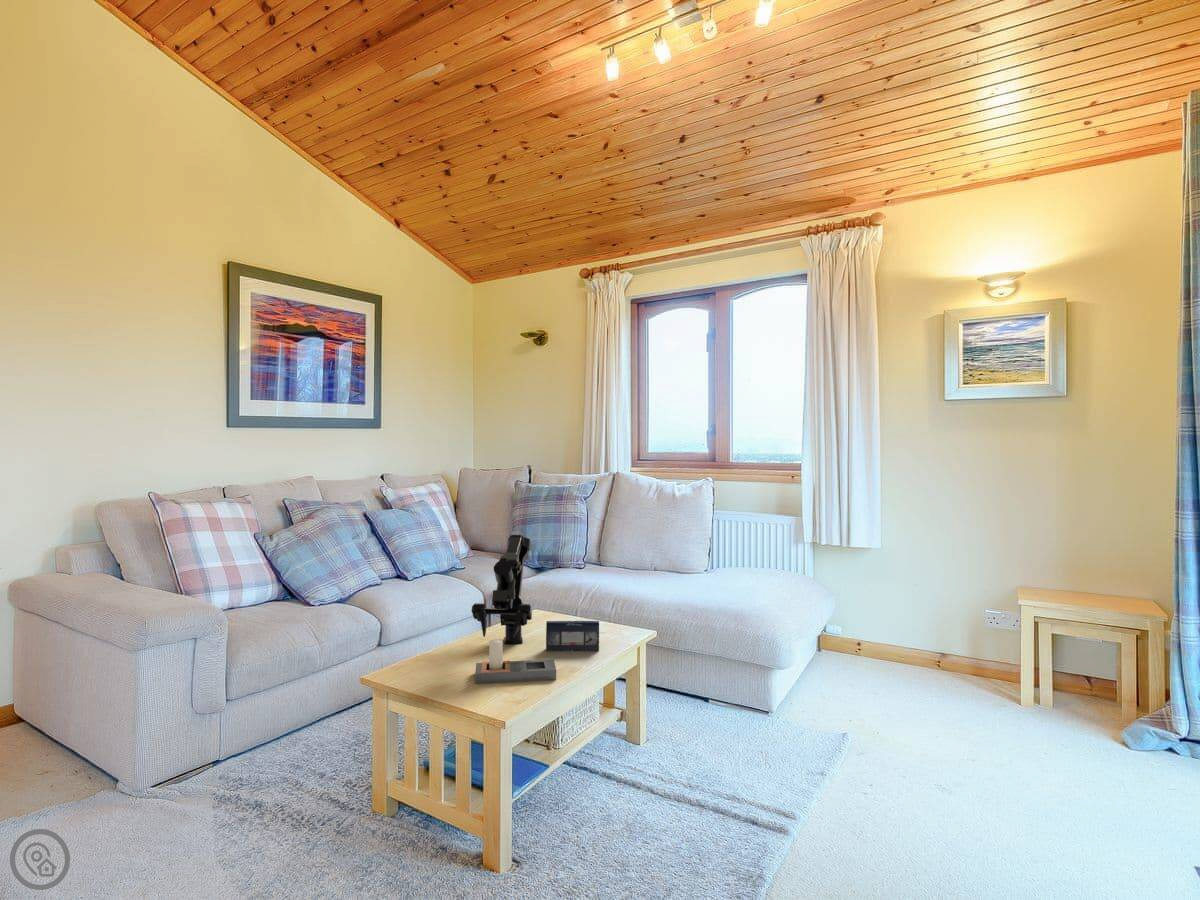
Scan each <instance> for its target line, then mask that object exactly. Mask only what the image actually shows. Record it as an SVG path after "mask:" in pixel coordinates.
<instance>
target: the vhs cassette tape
mask: <svg viewBox="0 0 1200 900" xmlns="http://www.w3.org/2000/svg"><path fill="white" fill-rule="evenodd" d="M545 625H546V626H545V627H546V629H545V651H546V652H599V651H600V621H599V620H550V621H549V620H547V621H546V623H545Z"/></svg>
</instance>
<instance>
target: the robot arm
mask: <svg viewBox="0 0 1200 900" xmlns="http://www.w3.org/2000/svg"><path fill="white" fill-rule="evenodd" d="M531 551H532V542H531V539H530V538H528V537H526V536H524V535H523V534H510V535H509V537H508V538H507V546H506V552H505V554H503V555H501V556H500V558H499V560H498V561H497V562H496V563H495V564H494V565H493V573H494V577H495V580H496V583H497V584H496V585H497V586H496V590H495V589H494V590H492V595H491V596H492V600H491V602H492V603H491V604H492V606H493V607H487V606H486V603H473V605H471V613H472V617H473V619H474V620H477V622H479V623H480V624H481V625H480V626H481V631H482V636H483V638H485V637H486V634H487V623H488V620H487V616H488V615H499V617H500V626H501V627H502V626H505V634H504V635H505V636H504V637H503V645H514V644H516V645H517V644H523V641H524V640H523V636H522V626H523V627H525V626H526V625H528V621H531V620H532V619H533V611H532V610H533V609H532V605H531V604H529V603H523V601H522V599H521V595H522V585H523V584H522V582H523V574H524V564H525V561H526V560H527V559H528V558H529V556H530V552H531Z"/></svg>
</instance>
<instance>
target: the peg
mask: <svg viewBox="0 0 1200 900" xmlns="http://www.w3.org/2000/svg"><path fill="white" fill-rule="evenodd" d="M503 647H504V639H501V638H500V639H499V638H495V639H490V640H489V647H488V648H489V649H488V650H489V651H488V652H489V654H488V656H489V657H488V662H489V670H502V669H503V661H504V659H503V656H504V651H503V650H504V648H503Z"/></svg>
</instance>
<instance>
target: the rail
mask: <svg viewBox="0 0 1200 900" xmlns="http://www.w3.org/2000/svg"><path fill="white" fill-rule="evenodd" d="M556 680H557V667H556V663H555V660H554V659H553V658H552V659H533V660H531V659H530V660H516V661H515V660H513V661H511V660H503V669H502V670H489V661H481V662H476V663H475V672H474V684H475V685H481V684H482V685H484V684H485V685H486V684H504V683H505V684H506V683H519V682H522V683H523V682H540V681H556Z"/></svg>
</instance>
